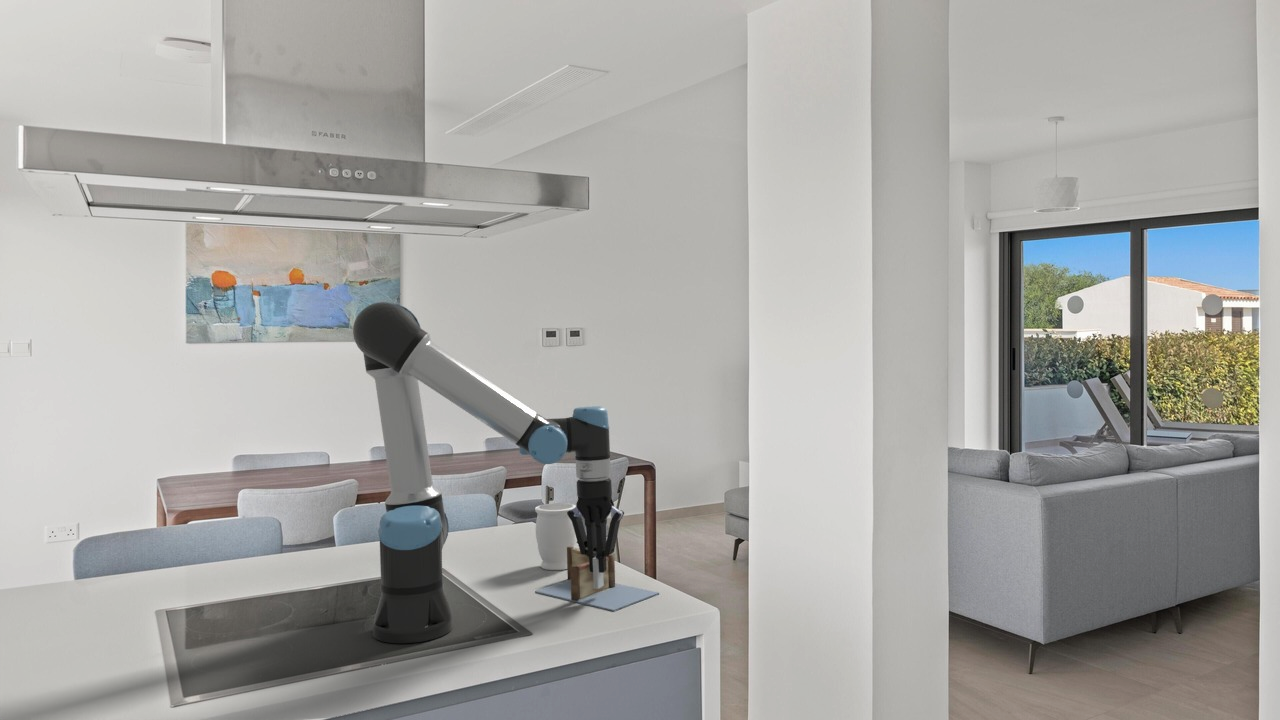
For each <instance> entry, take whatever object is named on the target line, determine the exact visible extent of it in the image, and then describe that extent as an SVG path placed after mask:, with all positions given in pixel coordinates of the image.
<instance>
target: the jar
mask: <svg viewBox="0 0 1280 720" xmlns="http://www.w3.org/2000/svg"><path fill="white" fill-rule="evenodd" d="M575 507H576V504H572V503H567V502H566V503H565V502H564V503H563V502H556V503H555V502H554V503H553V502H552V503H545V504H540V505H538V506H536V507H535V509H534V510H535V513H536V515H537V517H536V520H535V538H536V543H537V549H538V554H539V556H540V559H541V560H542V562H541V563H540V568H542V569H543V570H547V571H563V570H564V571H566V570H567V547H574V548H577V543H578V542H577V538H576V535H575V531H574V528H573V524H572V521H571V520H570V518H569V516H568V515H567V512H568V511H570V510H572V509H573V508H575Z"/></svg>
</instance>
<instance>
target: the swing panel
mask: <svg viewBox="0 0 1280 720" xmlns="http://www.w3.org/2000/svg"><path fill="white" fill-rule="evenodd" d="M608 561H609V557H606V567H607V569H606V571H605V572H603V578H604V586H602V587H601V588H599V589H594V578H593V572H590V567H589V562H586V563H584V564H581V565H578V566H572V567H570V570H571V600H578V599H579V598H583V597H585V596H588V595H590V594H593V593H595V592H598V591H600V590H603V589H605V588H608V587H609V576H608Z"/></svg>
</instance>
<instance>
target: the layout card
mask: <svg viewBox="0 0 1280 720" xmlns="http://www.w3.org/2000/svg"><path fill="white" fill-rule="evenodd" d="M535 594H540V595H545V596H548V597H553V598H557V599H562V600H564V601H565V600H566V601H570V602H573V603H576V604H577V603H578V604H582V605H585V604H586V606H589V605H590V607H594V608H598V607H599V609H602V608H603V609H602V610H606V609H608V610H607V611H610V610H613V611H612V612H616V611H615V610H617V611H619V610H621V609H620V608H622V609H624V608H627V607H629V606H628V605H630V606H632V605H634V604H633V603H635V604H637V603H640V602H643V601H645V600H648V599H650V598H653V597H656V596H658V595H660V592H658V591H653V590H648V589H643V588H639V587H634V586H631V585H630V586H629V585H625V584H621V583H620V584H619V583H616V582H615V587H613V588H605V589H603V590H600V591H598V592H595V593H593V594H590V595H588V596H585V597H583V598H579V599H578V600H571V579H570V580H568V579H567V580H566V581H562V582H559V583H556V584H553V585H549V586H546V587H544V588H541V589H537V590H535ZM642 600H643V601H642ZM639 601H640V602H639ZM636 602H637V603H636ZM631 604H632V605H631ZM626 606H627V607H626ZM623 607H624V608H623ZM618 609H619V610H618Z"/></svg>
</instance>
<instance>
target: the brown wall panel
mask: <svg viewBox="0 0 1280 720" xmlns="http://www.w3.org/2000/svg"><path fill="white" fill-rule="evenodd" d="M606 557H609V561H608V576H609V587H608V588H613V587H615V583H616V567H615V566H616V565H615V561H616V560H615V553H612V554H610V555H608V556H606ZM586 562H589V557H588V556H587V555H585V554H581V552H580V549H579V548H577V547H576V548H574V547H567V569H566V570H567V571H566V572H567V573H566V574H567V581H568V580H570V579H571V570H570V567H572V566H578V565H581V564H584V563H586Z"/></svg>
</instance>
